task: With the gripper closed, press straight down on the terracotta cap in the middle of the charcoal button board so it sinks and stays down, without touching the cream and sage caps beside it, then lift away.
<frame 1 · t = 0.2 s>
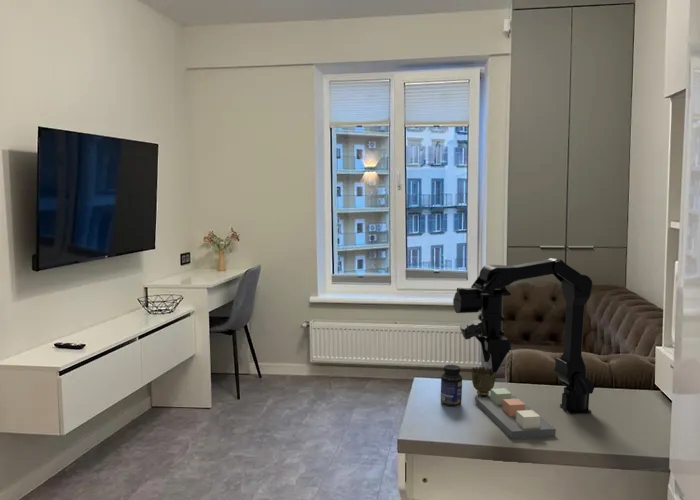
hand: (490, 366, 168), 14 cm above the kitchen counter, fingers open, 9 cm apart
sage button: (500, 396, 175), point 3 cm above the kitchen counter, slide at 0.0 cm
cream button: (527, 419, 159), point 3 cm above the kitchen counter, slide at 0.0 cm
terracotta button: (513, 407, 167), point 3 cm above the kitchen counter, slide at 0.0 cm
button board: (513, 419, 168), on the kitchen counter
cup: (482, 395, 186), on the kitchen counter
pill bottle: (450, 403, 179), on the kitchen counter
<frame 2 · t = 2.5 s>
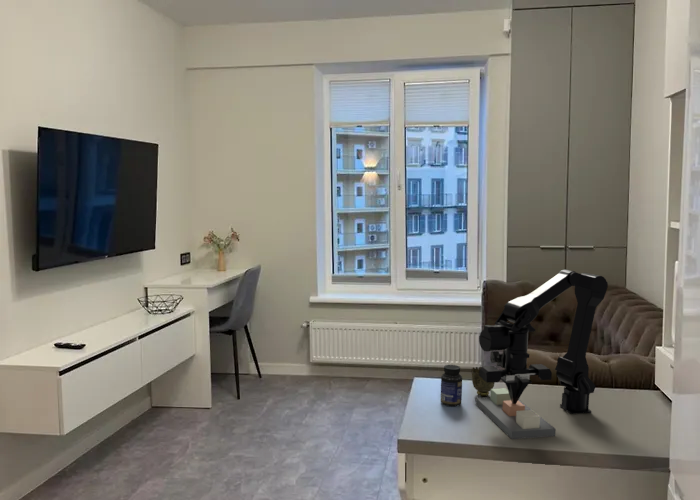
hand: (513, 403, 167), 5 cm above the kitchen counter, fingers closed, pressing on terracotta button
terracotta button: (513, 409, 167), point 3 cm above the kitchen counter, slide at 0.4 cm, touching gripper
everything else where it was.
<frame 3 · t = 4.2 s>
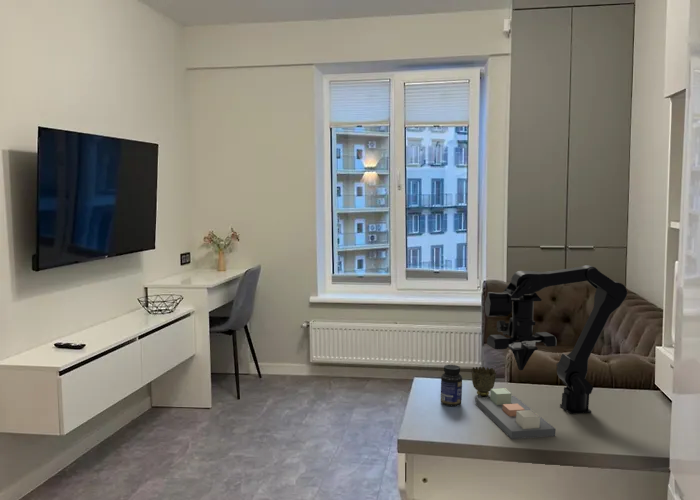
hand: (520, 369, 173), 12 cm above the kitchen counter, fingers closed
terracotta button: (513, 412, 167), point 2 cm above the kitchen counter, slide at 1.4 cm
everything else where it was.
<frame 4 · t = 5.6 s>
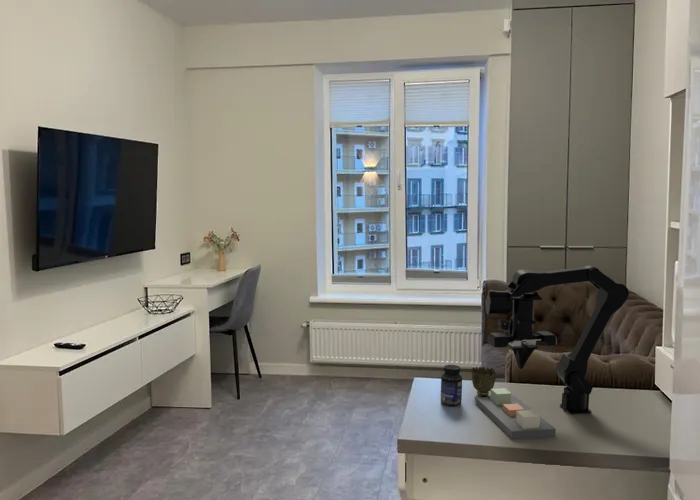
hand: (520, 368, 174), 12 cm above the kitchen counter, fingers closed
nothing on the kitchen counter moved.
at the end: terracotta button slide at 1.4 cm; cream button slide at 0.0 cm; sage button slide at 0.0 cm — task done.
